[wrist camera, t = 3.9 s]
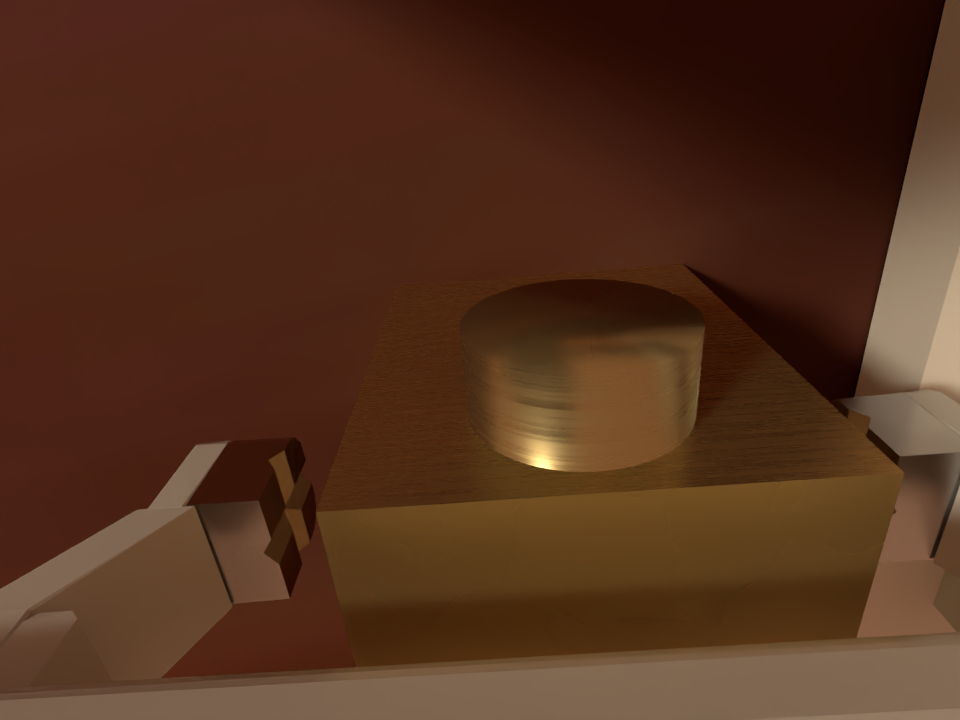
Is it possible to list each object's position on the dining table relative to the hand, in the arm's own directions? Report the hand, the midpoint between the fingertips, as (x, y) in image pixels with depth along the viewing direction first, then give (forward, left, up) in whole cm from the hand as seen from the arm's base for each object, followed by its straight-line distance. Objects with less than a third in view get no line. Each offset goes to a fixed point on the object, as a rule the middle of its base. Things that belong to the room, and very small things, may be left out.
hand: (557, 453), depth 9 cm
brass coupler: (0, 0, -2) cm, 2 cm away
